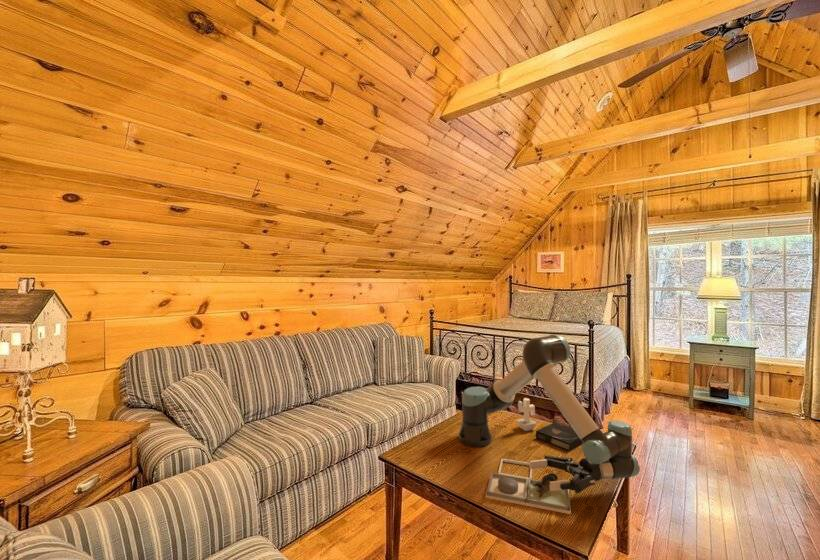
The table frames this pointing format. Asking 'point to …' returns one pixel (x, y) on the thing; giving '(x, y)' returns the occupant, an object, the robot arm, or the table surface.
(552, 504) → the tray
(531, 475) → the white square frame
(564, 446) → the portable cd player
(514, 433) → the table surface
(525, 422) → the figurine
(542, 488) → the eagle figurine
